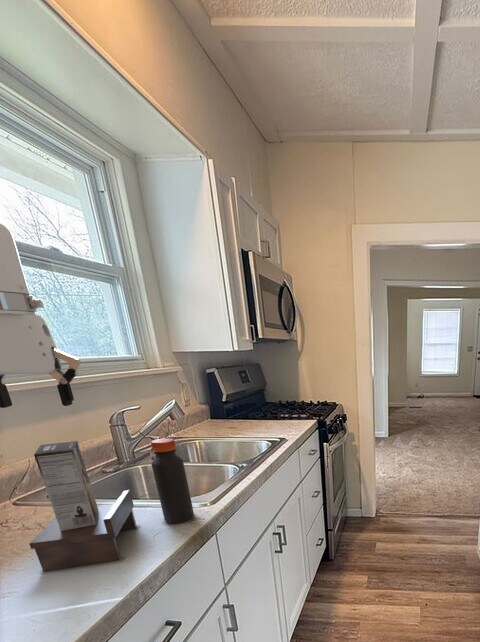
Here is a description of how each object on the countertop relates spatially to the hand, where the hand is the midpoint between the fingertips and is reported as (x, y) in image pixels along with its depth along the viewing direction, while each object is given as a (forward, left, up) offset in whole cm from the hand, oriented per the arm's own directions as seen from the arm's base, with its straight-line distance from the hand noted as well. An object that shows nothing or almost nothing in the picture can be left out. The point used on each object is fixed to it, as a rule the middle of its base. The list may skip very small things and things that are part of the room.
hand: (37, 405), depth 76 cm
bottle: (+18, +9, -30) cm, 36 cm away
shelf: (+2, -1, -30) cm, 30 cm away
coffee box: (+1, -1, -24) cm, 24 cm away
